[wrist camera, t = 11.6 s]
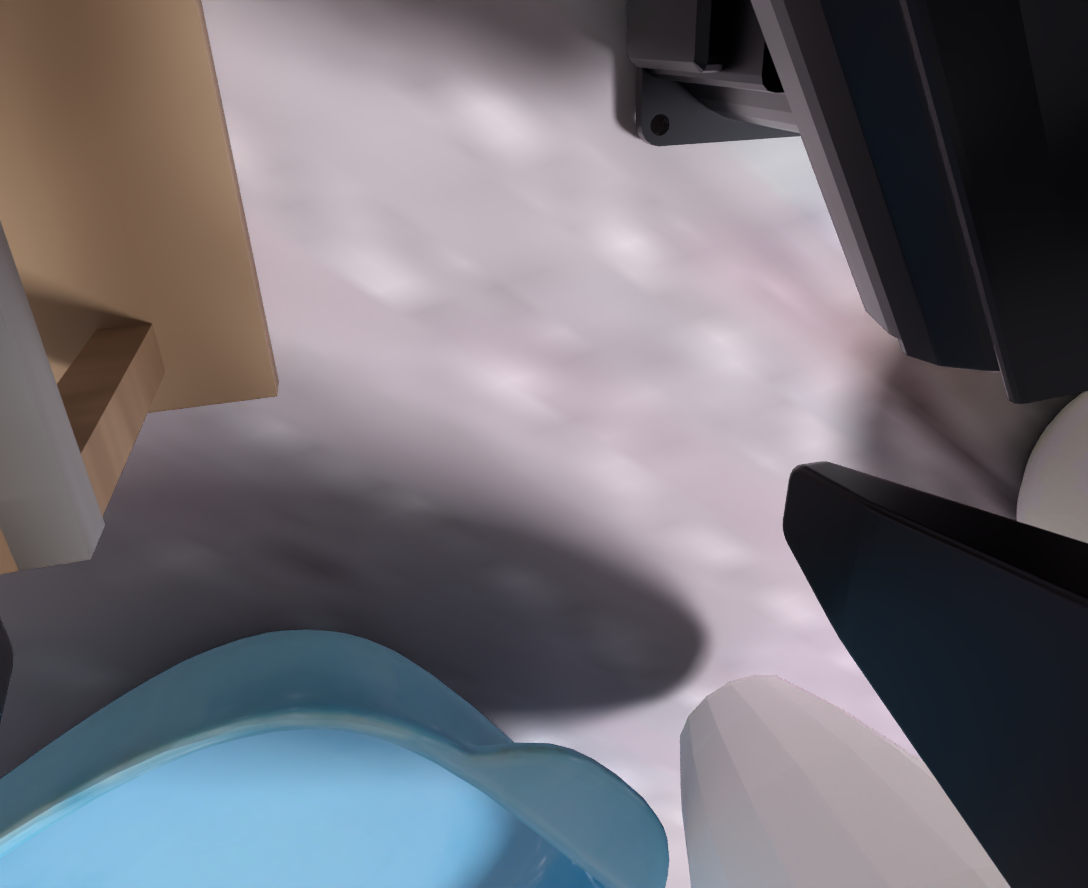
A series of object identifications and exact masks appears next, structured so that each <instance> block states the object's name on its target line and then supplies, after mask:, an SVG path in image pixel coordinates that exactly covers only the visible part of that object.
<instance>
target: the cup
mask: <svg viewBox="0 0 1088 888" xmlns="http://www.w3.org/2000/svg"><path fill="white" fill-rule="evenodd" d="M680 774H681V801H682V814H683V823H684V831H685V839H686V847H687V856H688V864H689V872H690V880H691V888H1010V886H1009V885H1008V883H1007V882H1006V881H1005V879H1004V878H1003V876H1002V875H1001V873H1000V872H999V870H998V869H997V867H996V866H995V865H994V863H993V862H992V860H991V859H990V857H989V856H988V854H987V853H986V851H985V850H984V849H983V847H982V846H981V844H980V843H979V841H978V840H977V838H976V837H975V835H974V834H973V833H972V831H971V830H970V828H969V827H968V825H967V824H966V822H965V821H964V819H963V818H962V817H961V815H960V814H959V812H958V811H957V809H956V808H955V806H954V805H953V803H952V802H951V801H950V799H949V798H948V796H947V795H946V793H945V792H944V790H943V789H942V787H941V786H940V785H939V783H938V782H937V780H936V779H935V777H934V776H933V774H932V773H931V771H930V770H929V769H928V767H927V766H926V764H925V763H924V761H922V760H921V759H919V758H917V757H916V756H914V755H913V754H911V753H910V752H908V751H907V750H905V749H904V748H902V747H900V746H899V745H897V744H896V743H894V742H893V741H891V740H890V739H888V738H886V737H885V736H883V735H882V734H880V733H879V732H877V731H876V730H874V729H872V728H871V727H869V726H868V725H866V724H865V723H863V722H862V721H860V720H858V719H857V718H855V717H854V716H852V715H851V714H849V713H848V712H846V711H845V710H843V709H841V708H839V707H837V706H835V705H833V704H831V703H829V702H827V701H826V700H824V699H822V698H820V697H818V696H816V695H814V694H812V693H810V692H808V691H806V690H804V689H802V688H800V687H798V686H796V685H794V684H792V683H790V682H788V681H786V680H784V679H782V678H780V677H778V676H769V675H752V676H749V677H746V678H742V679H739V680H736V681H732V682H729V683H727V684H726V685H724V686H723V687H721V688H719V689H718V690H716V691H715V692H713V693H711V694H710V695H708V696H707V697H705V699H704V700H703V701H702V702H701V703H700V704H699V705H698V706H697V707H696V708H695V710H694V711H693V712H692V713H691V714H690V715H689V716H688V719H687V721H686V723H685V726H684V728H683V730H682V733H681V735H680Z"/></svg>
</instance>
